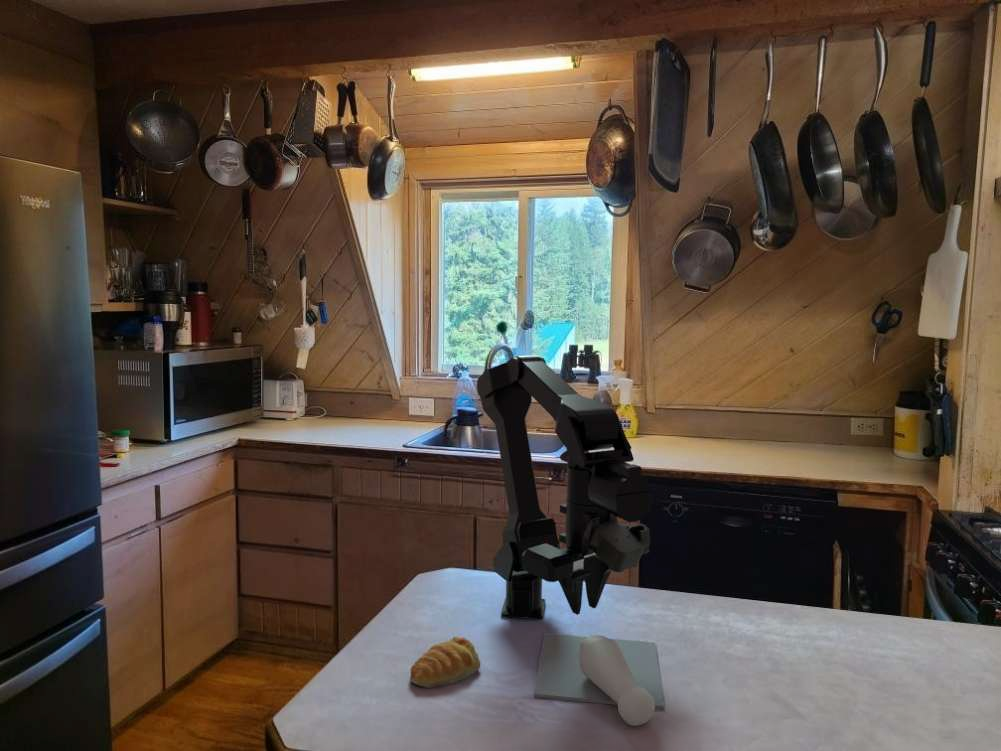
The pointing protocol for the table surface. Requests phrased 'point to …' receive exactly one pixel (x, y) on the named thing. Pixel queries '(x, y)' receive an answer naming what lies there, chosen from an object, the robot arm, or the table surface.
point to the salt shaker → (615, 678)
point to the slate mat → (569, 683)
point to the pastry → (445, 663)
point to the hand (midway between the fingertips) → (584, 610)
